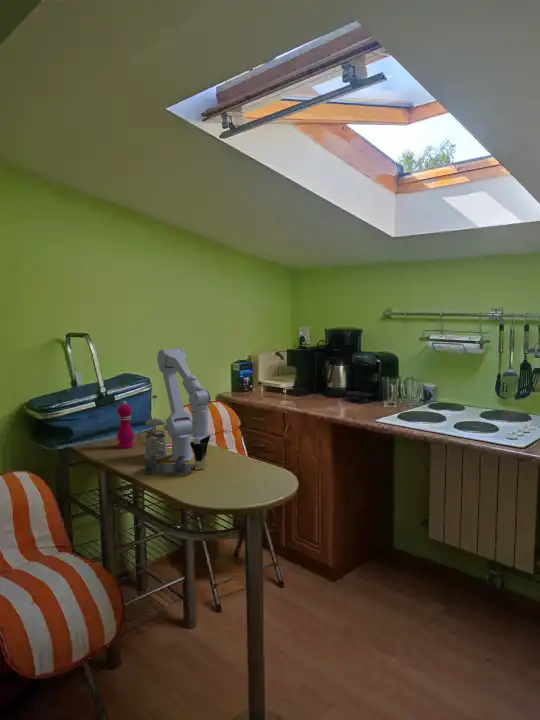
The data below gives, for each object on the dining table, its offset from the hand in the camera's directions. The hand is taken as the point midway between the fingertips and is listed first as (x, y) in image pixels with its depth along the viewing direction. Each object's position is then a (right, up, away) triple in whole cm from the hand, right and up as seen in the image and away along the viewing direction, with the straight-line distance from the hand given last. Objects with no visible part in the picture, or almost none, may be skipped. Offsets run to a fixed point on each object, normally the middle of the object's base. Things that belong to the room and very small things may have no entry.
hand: (200, 457), depth 200 cm
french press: (-21, -2, +16) cm, 26 cm away
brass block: (0, -4, +1) cm, 4 cm away
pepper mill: (-36, -1, +30) cm, 47 cm away
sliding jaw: (-18, -3, 0) cm, 18 cm away
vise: (-11, -4, -3) cm, 12 cm away
